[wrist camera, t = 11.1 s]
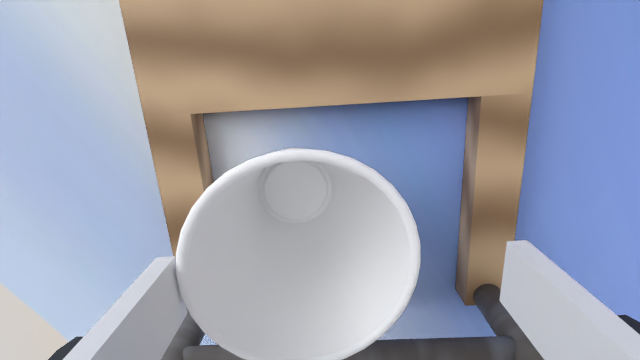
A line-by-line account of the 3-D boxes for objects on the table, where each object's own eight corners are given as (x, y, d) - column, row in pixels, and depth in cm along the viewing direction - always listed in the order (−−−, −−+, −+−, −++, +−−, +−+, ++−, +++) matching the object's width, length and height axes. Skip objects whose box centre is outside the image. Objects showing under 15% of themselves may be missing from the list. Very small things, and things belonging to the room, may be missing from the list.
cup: (216, 240, 24) (163, 359, 14) (235, 105, 22) (188, 125, 11) (346, 259, 26) (387, 379, 15) (378, 134, 23) (453, 175, 13)
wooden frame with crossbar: (137, 1, 21) (25, -45, 13) (527, -29, 20) (651, -97, 12) (196, 300, 27) (145, 386, 20) (493, 289, 26) (561, 376, 19)
